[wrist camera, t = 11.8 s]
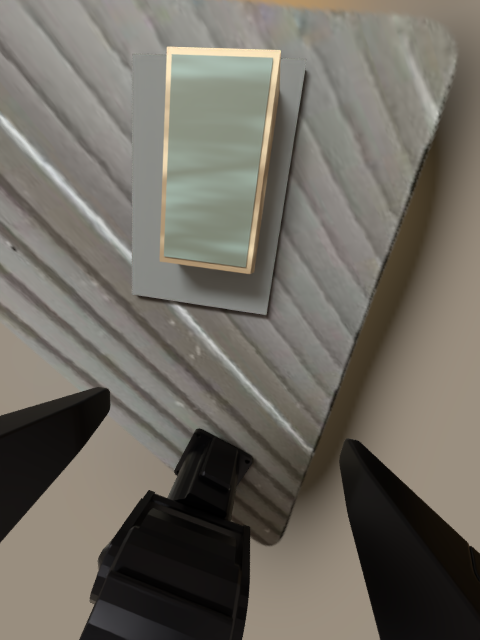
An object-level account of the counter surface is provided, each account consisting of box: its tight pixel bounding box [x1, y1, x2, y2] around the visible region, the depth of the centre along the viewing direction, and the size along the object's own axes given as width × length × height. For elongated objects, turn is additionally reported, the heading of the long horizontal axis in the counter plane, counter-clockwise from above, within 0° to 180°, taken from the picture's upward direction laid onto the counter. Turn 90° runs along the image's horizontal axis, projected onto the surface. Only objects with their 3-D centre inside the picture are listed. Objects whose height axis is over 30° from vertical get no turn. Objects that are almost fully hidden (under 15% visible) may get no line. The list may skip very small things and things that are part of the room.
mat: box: [132, 54, 307, 315], centre depth 18 cm, size 17×12×1 cm
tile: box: [160, 47, 281, 274], centre depth 16 cm, size 3×6×12 cm
